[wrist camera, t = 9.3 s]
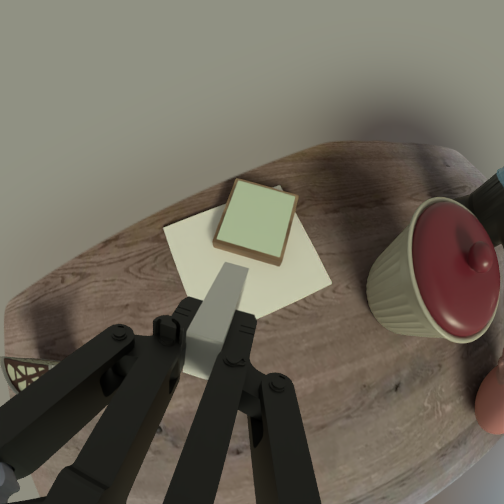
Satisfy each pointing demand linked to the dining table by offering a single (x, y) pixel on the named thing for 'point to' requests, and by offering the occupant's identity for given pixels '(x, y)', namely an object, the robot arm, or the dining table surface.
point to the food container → (24, 371)
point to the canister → (437, 276)
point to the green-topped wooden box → (256, 222)
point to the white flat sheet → (245, 264)
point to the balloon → (491, 400)
